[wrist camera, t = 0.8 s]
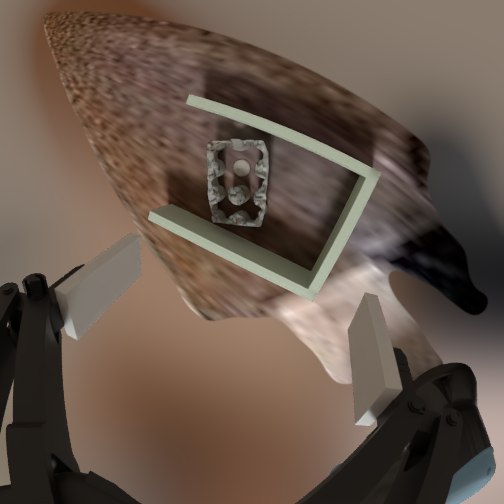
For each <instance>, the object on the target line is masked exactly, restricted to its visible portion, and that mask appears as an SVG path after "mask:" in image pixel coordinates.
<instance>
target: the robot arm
mask: <svg viewBox="0 0 504 504" xmlns="http://www.w3.org/2000/svg"><path fill="white" fill-rule="evenodd" d="M140 276H141V236H140V235H136V234H132V233H130V234H128V235H127V236H125V237H124V238H122V239H121V240H120V241H118V242H117V243H115V244H114V245H112V246H111V247H110V248H108V249H107V250H105V251H104V252H102V253H101V254H100V255H98V256H97V257H95V258H94V259H93V260H91V261H90V262H89V263H87V264H86V265H84V264H83V265H81V266H78V267H75V268H74V269H72V270H71V271H70V272H69V273H67V274H66V275H65V276H64V277H62V278H61V279H59V280H58V281H57V282H55V283H54V284H53V285H52V286H51V287H49V288H48V285H47V282H46V277H45V276H44V275H43V274H40V273H35V274H31V275H29V276H27V277H26V278H24V279H23V281H22V284H23V287H24V291H25V293H21V292H19V288H18V285H17V284H16V283H6V284H4V285H3V286H1V287H0V432H1V427H2V422H3V417H4V413H5V409H6V405H7V400H8V396H9V393H10V390H11V386H12V383H13V379H14V387H13V422H12V424H9V425H7V427H6V445H7V457H8V466H9V474H10V481H11V484H10V485H4V486H0V504H141V503H139V502H138V501H136V500H135V499H133V498H132V497H131V496H130V495H128V494H127V493H126V492H124V491H123V490H122V489H120V488H119V487H118V486H117V485H116V484H114V483H112V482H110V481H108V480H106V479H104V478H102V477H101V476H99V475H97V474H95V473H94V472H92V471H90V472H89V473H88V474H86V473H81V472H80V469H79V466H78V464H77V462H76V459H75V458H74V455H73V452H72V448H71V443H70V437H69V432H68V426H67V419H66V410H65V401H64V391H63V377H62V347H61V345H62V344H61V343H62V342H61V341H62V340H61V339H62V337H61V336H62V335H61V331H60V329H61V328H62V327H63V326H65V329H66V333H67V335H69V336H71V337H73V338H74V339H77V340H79V338H80V337H81V336H82V335H83V334H84V333H85V332H86V331H87V330H88V329H89V328H90V327H91V325H93V324H94V322H95V321H96V320H97V319H98V318H99V317H100V316H101V315H102V314H103V313H104V312H105V311H106V310H107V309H108V308H109V307H110V306H111V305H112V304H113V303H114V302H115V301H116V300H117V299H118V298H119V297H120V296H121V295H122V294H123V293H124V292H125V291H126V290H127V289H128V288H129V287H130V286H131V285H132V284H133V283H134V282H135V281H136V280H137V279H138V278H139V277H140ZM7 323H9V325H8V327H7ZM348 337H349V346H350V357H351V368H352V380H353V395H354V414H355V425H365V426H371V425H372V423H373V422H374V421H375V420H376V419H377V427H376V428H375V430H374V431H372V433H371V434H369V435H368V436H367V437H366V439H365V440H364V442H363V443H362V444H361V445H360V446H359V447H358V448H357V449H356V450H355V451H354V452H353V453H352V454H351V455H350V456H349V457H348V458H347V459H346V460H345V461H344V462H343V463H341V464H339V465H337V466H336V467H335V468H334V469H333V470H332V471H331V473H330V474H329V476H328V477H327V478H326V479H324V480H323V481H322V482H321V483H320V484H319V485H318V486H317V487H315V488H314V489H313V490H312V491H310V492H309V493H308V494H307V495H305V496H304V497H303V498H302V499H300V500H299V501H298V502H296V503H295V504H459V503H461V502H463V501H464V500H466V499H468V498H469V497H471V496H472V495H474V494H475V493H476V492H478V491H479V490H480V489H481V488H483V487H484V486H485V485H486V484H487V483H488V481H490V479H491V478H492V476H493V474H494V473H495V469H496V464H495V460H494V455H493V452H494V451H493V447H492V446H491V443H490V440H489V437H488V434H487V431H486V428H485V426H484V423H483V420H482V418H481V415H480V412H479V410H478V407H477V382H476V378H475V376H474V374H473V372H472V370H471V369H470V367H469V366H467V365H466V364H462V363H448V364H444V365H441V366H438V367H436V368H433V369H431V370H429V371H428V372H426V373H424V374H423V375H421V376H420V377H419V378H418V379H416V380H415V381H414V382H413V380H412V377H411V373H410V369H409V366H408V362H407V358H406V356H405V355H404V353H403V352H402V350H401V349H398V348H393V347H392V343H391V340H390V336H389V333H388V329H387V326H386V322H385V319H384V315H383V312H382V309H381V306H380V302H379V299H378V296H377V295H374V294H370V293H365V294H364V296H363V298H362V301H361V303H360V305H359V307H358V309H357V311H356V314H355V316H354V318H353V320H352V322H351V324H350V326H349V328H348Z"/></svg>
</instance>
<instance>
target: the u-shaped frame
mask: <svg viewBox="0 0 504 504" xmlns="http://www.w3.org/2000/svg"><path fill="white" fill-rule="evenodd" d="M186 104H189V105H191V106H194V107H197V108H200V109H203V110H206V111H209V112H212V113H215V114H218V115H221V116H224V117H227V118H230V119H233V120H236V121H238V122H241V123H244V124H247V125H249V126H252V127H254V128H257V129H260V130H262V131H265V132H267V133H270V134H272V135H275V136H277V137H280V138H282V139H284V140H287V141H289V142H291V143H294V144H296V145H298V146H301V147H303V148H305V149H307V150H309V151H312V152H314V153H316V154H318V155H320V156H322V157H325V158H327V159H329V160H331V161H333V162H335V163H337V164H339V165H341V166H343V167H345V168H347V169H349V170H351V171H353V172H355V173H357V174H358V175H360V176H359V178H358V180H357V182H356V184H355V186H354V188H353V190H352V193H351V195H350V197H349V199H348V201H347V203H346V205H345V207H344V209H343V211H342V213H341V215H340V217H339V219H338V221H337V223H336V225H335V227H334V229H333V231H332V233H331V235H330V236H329V238H328V240H327V242H326V244H325V246H324V248H323V250H322V252H321V254H320V255H319V257H318V259H317V261H316V263H315V265H314V267H313V268H312V270H311V271H309V270H307V269H305V268H303V267H301V266H299V265H297V264H295V263H293V262H291V261H289V260H287V259H285V258H283V257H281V256H279V255H277V254H275V253H273V252H271V251H269V250H266V249H264V248H262V247H260V246H258V245H256V244H254V243H252V242H250V241H248V240H246V239H244V238H242V237H240V236H238V235H236V234H234V233H232V232H229V231H227V230H225V229H223V228H221V227H219V226H217V225H215V224H213V223H211V222H209V221H207V220H205V219H202V218H200V217H198V216H196V215H194V214H192V213H190V212H188V211H186V210H184V209H182V208H180V207H177V206H175V205H173V204H169V205H166V206H163V207H160V208H158V209H155V210H152V211H150V214H149V218H148V220H150V221H152V222H154V223H156V224H158V225H160V226H162V227H164V228H166V229H168V230H170V231H172V232H173V233H175V234H177V235H179V236H181V237H183V238H185V239H187V240H189V241H191V242H193V243H195V244H197V245H199V246H201V247H203V248H205V249H207V250H209V251H211V252H213V253H215V254H217V255H219V256H221V257H223V258H225V259H227V260H229V261H231V262H233V263H235V264H237V265H239V266H241V267H243V268H245V269H247V270H249V271H251V272H253V273H255V274H257V275H259V276H261V277H263V278H265V279H267V280H269V281H271V282H273V283H275V284H277V285H279V286H281V287H283V288H285V289H287V290H289V291H291V292H293V293H295V294H298V295H300V296H302V297H304V298H306V299H308V300H310V301H312V302H313V300H314V298H315V297H316V295H317V293H318V292H319V290H320V288H321V287H322V285H323V283H324V281H325V280H326V278H327V276H328V274H329V273H330V271H331V269H332V267H333V266H334V264H335V262H336V260H337V258H338V257H339V255H340V253H341V251H342V249H343V248H344V246H345V244H346V242H347V240H348V238H349V236H350V235H351V233H352V231H353V229H354V227H355V225H356V223H357V221H358V219H359V217H360V215H361V213H362V211H363V209H364V207H365V205H366V203H367V201H368V199H369V197H370V195H371V193H372V191H373V189H374V187H375V185H376V183H377V181H378V179H379V176H380V174H381V173H380V172H378V171H376V170H375V169H373V168H371V167H369V166H367V165H365V164H363V163H362V162H360V161H358V160H356V159H354V158H352V157H350V156H348V155H346V154H344V153H342V152H340V151H338V150H336V149H334V148H332V147H330V146H328V145H325V144H323V143H321V142H319V141H317V140H315V139H312V138H310V137H308V136H306V135H303V134H301V133H299V132H296V131H294V130H292V129H289V128H287V127H284V126H282V125H279V124H277V123H274V122H272V121H269V120H267V119H264V118H261V117H259V116H256V115H253V114H250V113H247V112H245V111H242V110H239V109H236V108H233V107H230V106H227V105H224V104H221V103H218V102H214V101H211V100H208V99H204V98H201V97H197V96H194V95H190V94H189V97H188V99H187V102H186Z"/></svg>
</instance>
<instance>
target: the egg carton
mask: <svg viewBox="0 0 504 504" xmlns="http://www.w3.org/2000/svg"><path fill="white" fill-rule="evenodd" d="M227 142H229V145H230V146H231V148H232V149H234V150H237V151H244V150H247V149H248V148H249V147H250V145H251V142H254V144H255V146H256V147H257V148H258V149H260V150H261V151H262V152H263V159H262V160H260V161H258V162H257V164H256V166H255V174H256V175H257V176H258V177H260V178H264V181H263V182H262V184H263V185H264V187H263V185H262V186H261V188H260V189H257V190H256V192H255V195H254V202H255V204H256V205H258V206H260V207H261V210H260V211H259V212H258V215H259V216H258V217H257V218H256V220H251V219H250V217H249V215H248V213H247V212H245V211H242V210H241V211H238V212H236V213H234V214H233V215H231V216H230V217H229V219H228V218H226V216H225V214H224V212H223V211H222V210H219V209H218V202H220V201H222V200H223V199H224V198H225V195H226V192H225V189H224V187H222V186H221V185H219V182H218V177H219V176H221V175H223V174H224V172H225V169H226V168H225V164H224V162H223V161H221V160H219V159H218V152H219V151H221V150H222V149H224V147H225V145H226V143H227ZM268 157H269V152H268V151H267V149H266V146H265V144H264V141H262V140H255V141H254V140H241V139H230V140H228V141H210V142H208V149H207V166H208V177H207V179H208V199H209V204H210V209H211V212H212V217H211V218H212V222H213V223H224V224H233V225H241V226H252V227H260V226H261V224H262V221H263V217H264V214H265V213H266V212H267V204H266V203H265V202H266V191H267V186H268V171H269V166H268ZM233 168H234V172H235V173H236V174H237V175H238V176H241V177H243V176H246V175H247V174H248V173H249V171H250V164H249V163H248V161H246V160H245V159H240V160H238V161H236V162H235V164H234V167H233ZM228 193H229V196H228V197H229V200H230V201H231V202H232V203H233V204H235V205H241V204H243V203H244V202H246V201H247V200H248V199H249V198H250V190H249V189H248V188H247V187H246V186H245V185H239V186H235V187H231V188H229V189H228Z"/></svg>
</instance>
